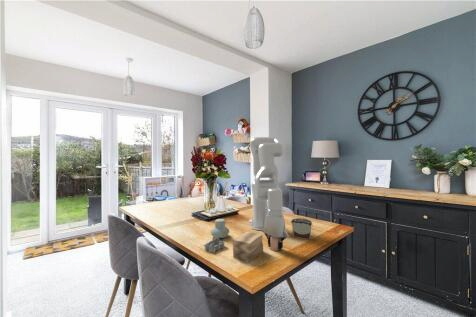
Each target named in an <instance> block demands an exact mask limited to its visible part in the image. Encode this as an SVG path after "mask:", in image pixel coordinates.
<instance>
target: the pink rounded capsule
mask: <svg viewBox="0 0 476 317" xmlns="http://www.w3.org/2000/svg"><path fill="white" fill-rule="evenodd" d="M278 242H279V238H278V237H277V236H270V247H269V248H270V250H272V251H274V252H275V251H280V250H279V249H278Z"/></svg>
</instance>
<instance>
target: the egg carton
mask: <svg viewBox="0 0 476 317" xmlns="http://www.w3.org/2000/svg"><path fill="white" fill-rule="evenodd" d="M225 243H226V241H225V240H221V238H217V237H213V238H212V240H210V241H209V242H207V243H205V244H203V246H204V251H205V252H207V251H209V253H216V251H220V250H221V249H222V248H225Z"/></svg>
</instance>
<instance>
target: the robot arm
mask: <svg viewBox="0 0 476 317" xmlns="http://www.w3.org/2000/svg"><path fill="white" fill-rule="evenodd" d="M249 148H250V151H251V154H252V158H253V159H252V162H253V166H252V167H253V176H254V180H253V181H252V182H251V186H250V187H251V191H252V192H251V193H252V217H253V218H249V220H248V223H250V224H251V225H250V228H251V229H253V230H256V231H262V233H263V234H264V236H265V237H266V240H267V246H268V248H270V236H277V237H278V238H279V242H278V249H279V250H278V251H280V250H282V249H283V247H284V245H283V244H284V243H283V242H284V241H285V240H286V239H288V238H289V237H290V235H289V234H288V232H287V231H286V230H287V229H286V222H285V215H284V214H283V189H281V188H280V186H279V175H278V174H279V172H278V166H277V165H276V163H275V158H280V157H282V156H283V154H284V150H283V145H282V143H281V141H280V140H279V139H278V138H276V137H274V136H270V137H269V136H267V137H266V136H260V137H259V136H258V137H253V138H251V139H250V141H249ZM266 178H267V179H266Z"/></svg>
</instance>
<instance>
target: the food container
mask: <svg viewBox="0 0 476 317" xmlns="http://www.w3.org/2000/svg"><path fill="white" fill-rule="evenodd" d="M290 223H291V228H292V234H293V235H292V237H293V238H299V239H303V240H308V239H309V240H311V233H312V232H311V231H312V227H313V222H312V221H311V219H307V218H301V217H299V218H292V219H291V221H290Z"/></svg>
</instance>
